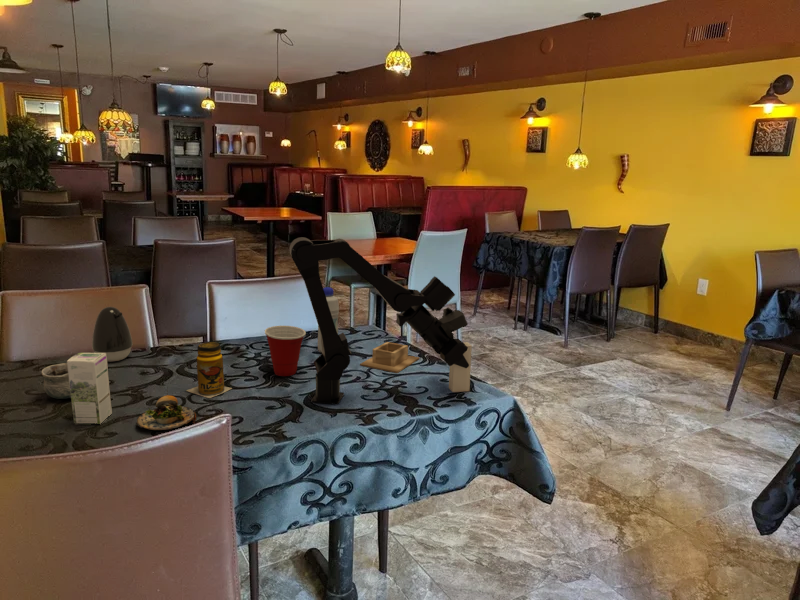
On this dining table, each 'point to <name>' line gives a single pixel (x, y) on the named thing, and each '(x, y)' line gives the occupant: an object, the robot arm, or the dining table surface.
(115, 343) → the dark grey egg shape
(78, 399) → the syrup box
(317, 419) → the dining table surface
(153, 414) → the burger
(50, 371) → the mug
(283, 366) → the plastic cup
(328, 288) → the bottle
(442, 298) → the robot arm
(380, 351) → the wooden socket base
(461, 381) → the tan rectangular block
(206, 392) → the condiment
